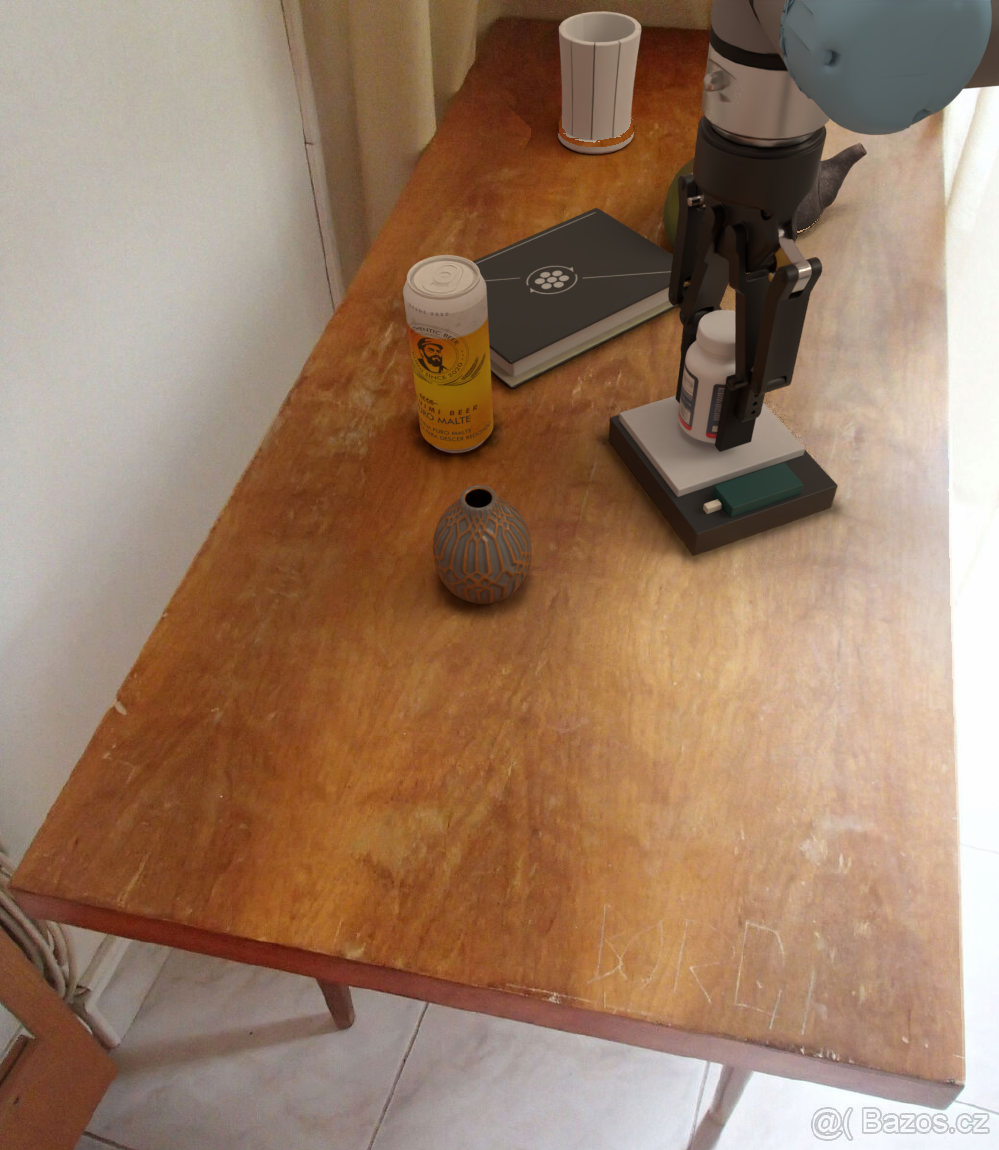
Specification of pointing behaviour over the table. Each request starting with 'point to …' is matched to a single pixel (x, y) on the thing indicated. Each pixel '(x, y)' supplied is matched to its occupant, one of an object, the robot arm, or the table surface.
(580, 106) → the cup
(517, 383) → the book
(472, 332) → the beer can
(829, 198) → the teapot
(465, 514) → the vase
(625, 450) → the scale
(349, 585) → the table surface
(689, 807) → the table surface
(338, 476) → the table surface
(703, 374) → the pill bottle
